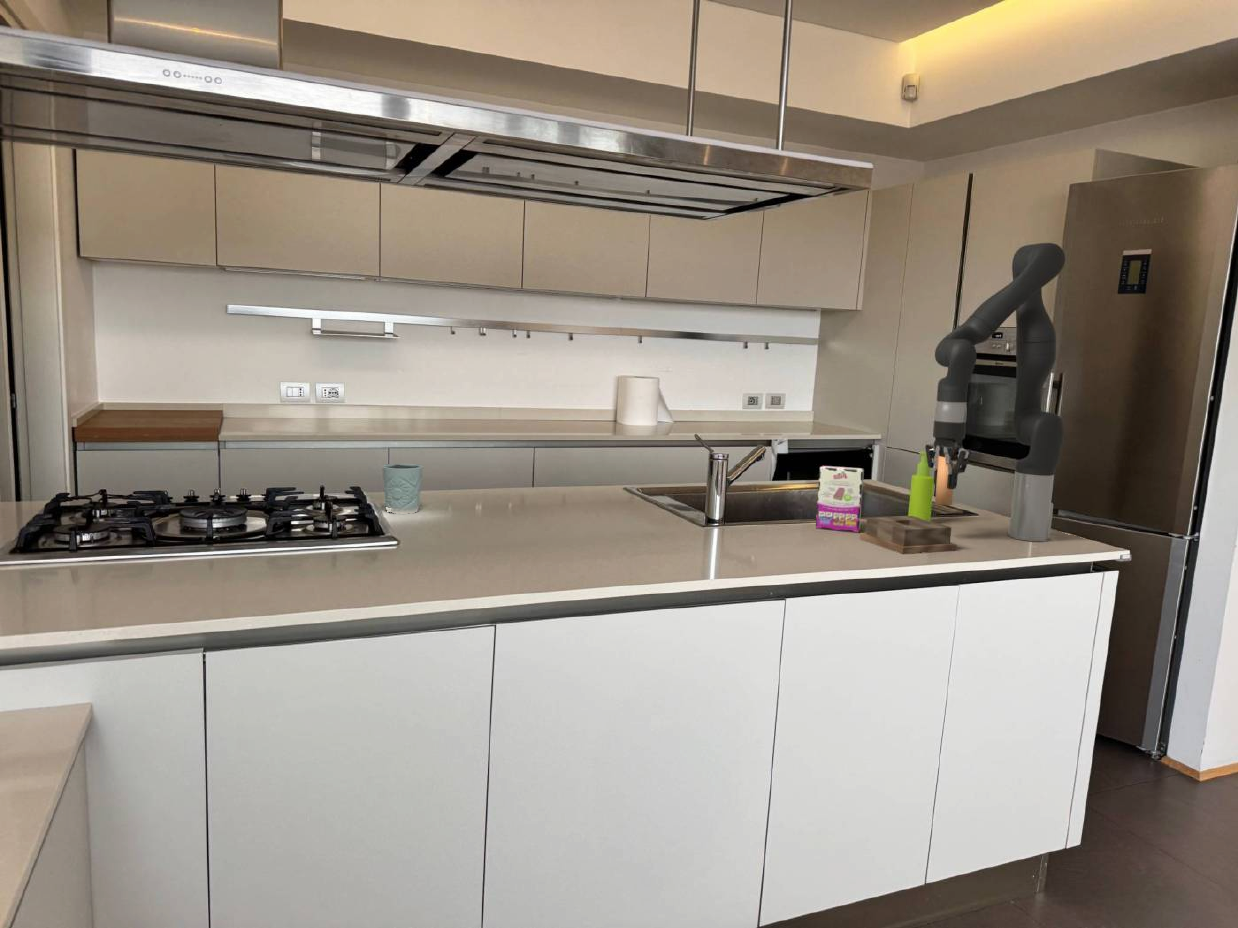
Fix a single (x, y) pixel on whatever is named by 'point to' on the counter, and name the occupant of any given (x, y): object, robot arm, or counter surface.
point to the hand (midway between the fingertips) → (944, 486)
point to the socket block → (908, 534)
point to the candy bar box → (839, 498)
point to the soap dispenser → (921, 491)
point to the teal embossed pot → (402, 485)
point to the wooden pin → (943, 484)
